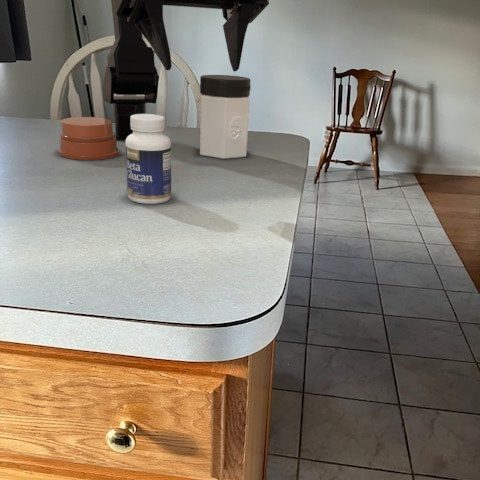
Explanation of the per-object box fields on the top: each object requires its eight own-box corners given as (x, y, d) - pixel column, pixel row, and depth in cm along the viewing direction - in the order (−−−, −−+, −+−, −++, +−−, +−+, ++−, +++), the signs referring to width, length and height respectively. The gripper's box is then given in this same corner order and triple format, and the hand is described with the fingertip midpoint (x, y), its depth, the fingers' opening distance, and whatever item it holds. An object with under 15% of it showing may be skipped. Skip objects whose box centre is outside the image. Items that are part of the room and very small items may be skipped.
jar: (212, 160, 88) (214, 80, 82) (188, 150, 93) (188, 74, 88) (257, 156, 92) (262, 80, 86) (231, 147, 98) (235, 74, 92)
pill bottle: (120, 201, 66) (116, 117, 61) (137, 190, 71) (134, 111, 66) (162, 207, 65) (161, 121, 60) (177, 195, 70) (176, 115, 65)
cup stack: (71, 145, 92) (68, 114, 90) (125, 149, 92) (124, 118, 89) (49, 157, 84) (45, 123, 81) (109, 161, 83) (107, 128, 81)
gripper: (124, -120, 55) (149, 38, 57) (281, -94, 63) (299, 44, 65) (103, -54, 66) (125, 78, 67) (240, -39, 73) (257, 79, 75)
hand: (203, 69), depth 68 cm, fingers open, 9 cm apart
